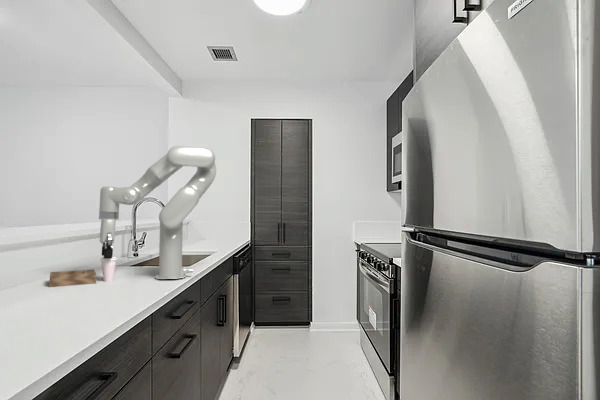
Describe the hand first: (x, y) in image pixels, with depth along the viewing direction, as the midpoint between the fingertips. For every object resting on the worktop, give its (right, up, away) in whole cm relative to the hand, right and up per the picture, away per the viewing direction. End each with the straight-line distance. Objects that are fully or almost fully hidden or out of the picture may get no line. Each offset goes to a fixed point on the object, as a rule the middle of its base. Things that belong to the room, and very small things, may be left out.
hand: (106, 256), depth 170 cm
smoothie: (+1, -10, 0) cm, 10 cm away
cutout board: (-12, -10, -5) cm, 16 cm away
